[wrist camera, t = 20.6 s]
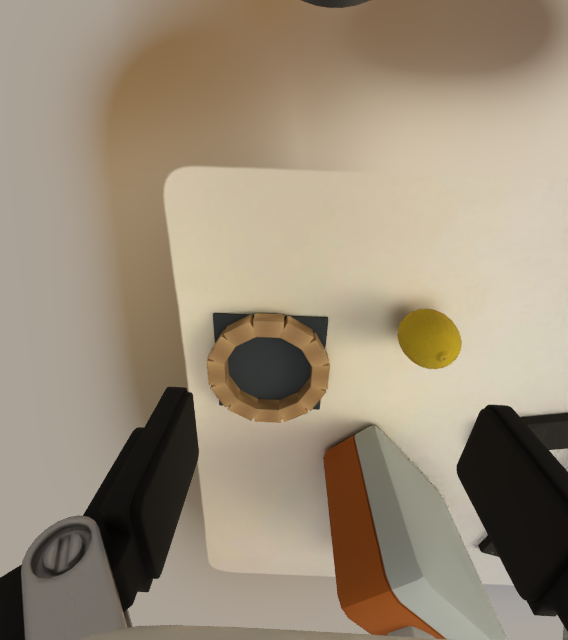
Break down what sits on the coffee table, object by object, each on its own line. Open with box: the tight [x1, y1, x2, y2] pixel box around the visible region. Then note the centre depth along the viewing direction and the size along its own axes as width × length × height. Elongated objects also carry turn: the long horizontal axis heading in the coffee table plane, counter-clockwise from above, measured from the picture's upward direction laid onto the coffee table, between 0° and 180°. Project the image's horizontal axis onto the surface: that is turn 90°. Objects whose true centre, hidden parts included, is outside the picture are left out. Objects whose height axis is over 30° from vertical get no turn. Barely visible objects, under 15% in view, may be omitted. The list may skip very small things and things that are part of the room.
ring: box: [207, 313, 330, 423], centre depth 38 cm, size 14×14×2 cm
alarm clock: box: [323, 425, 508, 640], centre depth 37 cm, size 18×9×21 cm, turn 40°
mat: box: [213, 313, 328, 409], centre depth 39 cm, size 13×13×1 cm
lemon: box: [398, 309, 461, 369], centre depth 32 cm, size 6×6×8 cm
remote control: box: [521, 413, 568, 450], centre depth 41 cm, size 5×2×15 cm
